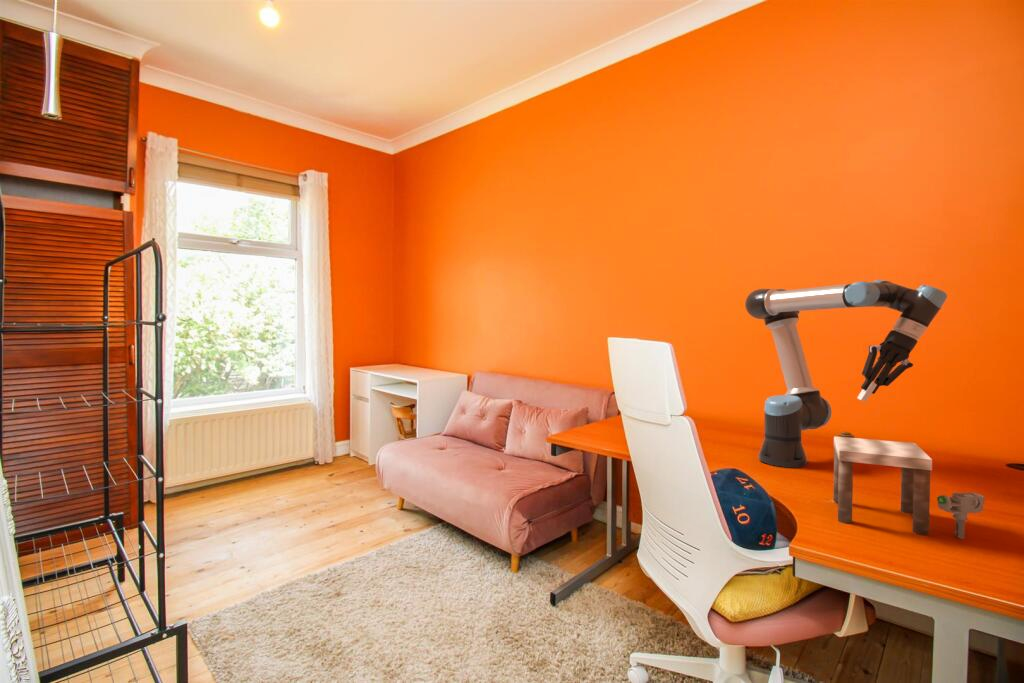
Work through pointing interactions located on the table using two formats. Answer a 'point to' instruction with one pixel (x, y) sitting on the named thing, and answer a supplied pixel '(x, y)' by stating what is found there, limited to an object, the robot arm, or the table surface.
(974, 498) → the mechanical component
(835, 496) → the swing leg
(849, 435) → the ornamental finial
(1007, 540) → the table surface
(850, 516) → the stool
